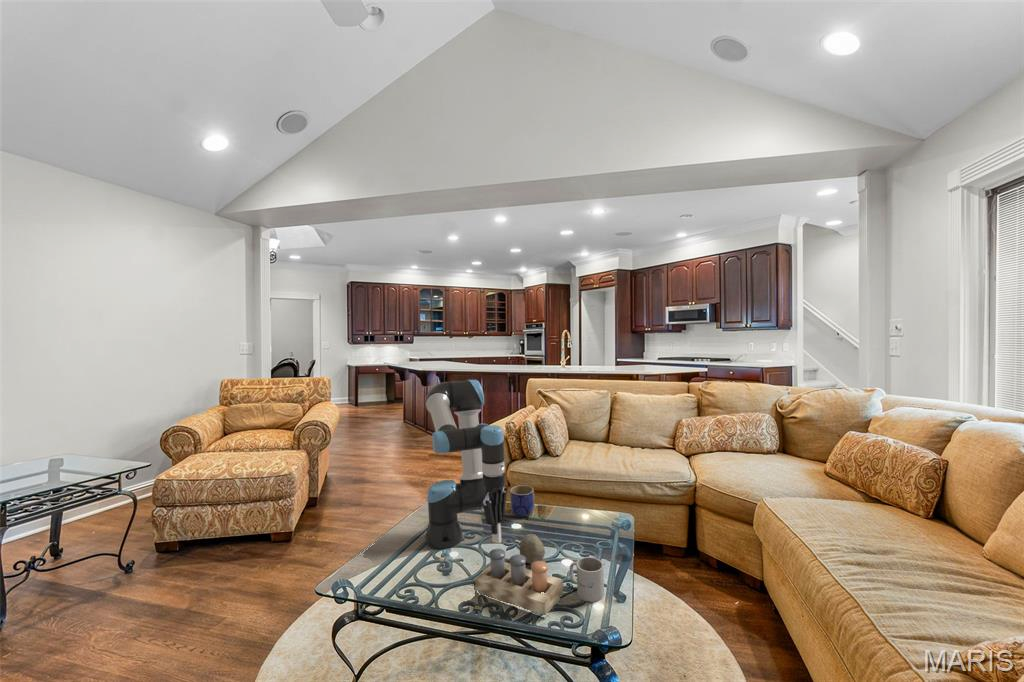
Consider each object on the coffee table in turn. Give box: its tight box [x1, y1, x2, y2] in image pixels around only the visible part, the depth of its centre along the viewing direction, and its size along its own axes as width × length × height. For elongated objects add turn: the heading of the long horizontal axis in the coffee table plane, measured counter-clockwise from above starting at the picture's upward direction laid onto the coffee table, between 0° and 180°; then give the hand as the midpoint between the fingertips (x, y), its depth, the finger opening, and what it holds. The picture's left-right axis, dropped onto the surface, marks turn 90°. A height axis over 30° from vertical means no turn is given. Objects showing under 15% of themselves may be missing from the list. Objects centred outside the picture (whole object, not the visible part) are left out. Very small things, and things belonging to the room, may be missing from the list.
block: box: [474, 561, 564, 615], centre depth 149 cm, size 26×13×5 cm, turn 59°
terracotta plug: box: [530, 560, 549, 591], centre depth 144 cm, size 5×5×7 cm
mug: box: [569, 556, 605, 603], centre depth 149 cm, size 12×9×10 cm
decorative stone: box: [519, 533, 546, 565], centre depth 166 cm, size 10×8×10 cm
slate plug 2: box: [509, 554, 527, 584], centre depth 148 cm, size 5×5×7 cm
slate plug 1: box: [488, 548, 506, 577], centre depth 152 cm, size 5×5×7 cm
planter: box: [509, 484, 535, 518], centre depth 205 cm, size 11×11×11 cm
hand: (496, 541), depth 151 cm, fingers closed
